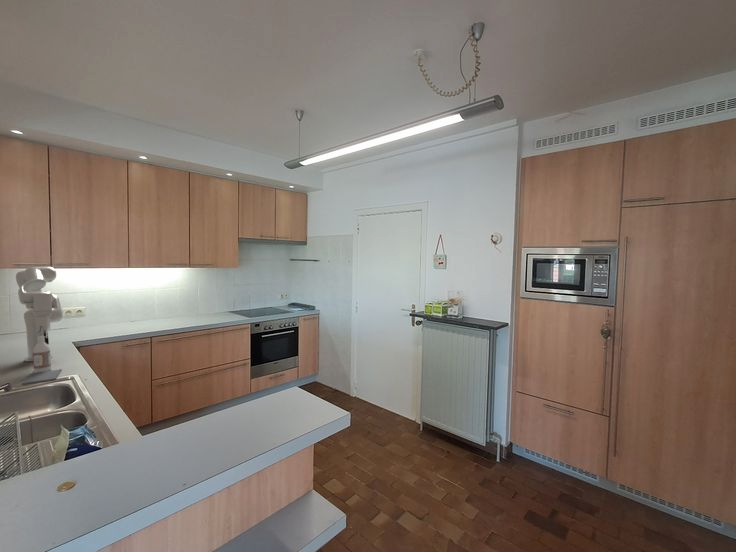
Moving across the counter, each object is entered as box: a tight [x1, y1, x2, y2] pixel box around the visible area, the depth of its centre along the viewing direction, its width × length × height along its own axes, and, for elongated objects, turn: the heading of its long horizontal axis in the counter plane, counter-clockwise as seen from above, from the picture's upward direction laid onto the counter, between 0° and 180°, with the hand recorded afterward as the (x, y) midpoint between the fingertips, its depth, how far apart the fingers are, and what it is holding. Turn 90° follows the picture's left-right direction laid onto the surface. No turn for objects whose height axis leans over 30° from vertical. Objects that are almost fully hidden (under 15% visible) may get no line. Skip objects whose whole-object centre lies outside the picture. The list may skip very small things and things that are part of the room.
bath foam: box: [32, 336, 52, 373], centre depth 188 cm, size 7×7×20 cm
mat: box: [21, 368, 62, 386], centre depth 179 cm, size 17×13×1 cm
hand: (44, 344), depth 194 cm, fingers closed
